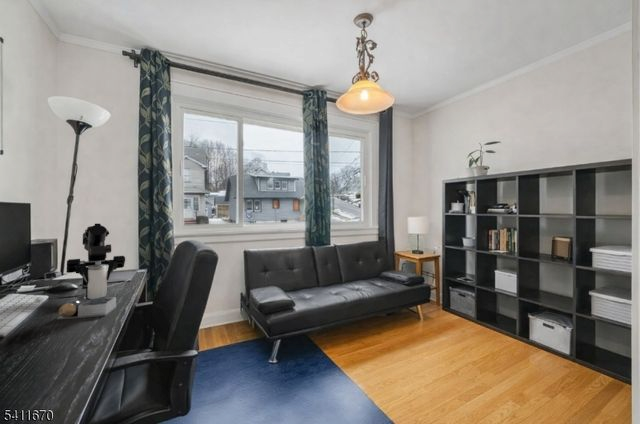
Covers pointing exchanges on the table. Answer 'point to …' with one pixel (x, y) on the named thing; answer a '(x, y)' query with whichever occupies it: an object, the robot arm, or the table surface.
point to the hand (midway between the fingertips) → (97, 280)
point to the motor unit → (87, 308)
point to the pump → (97, 280)
